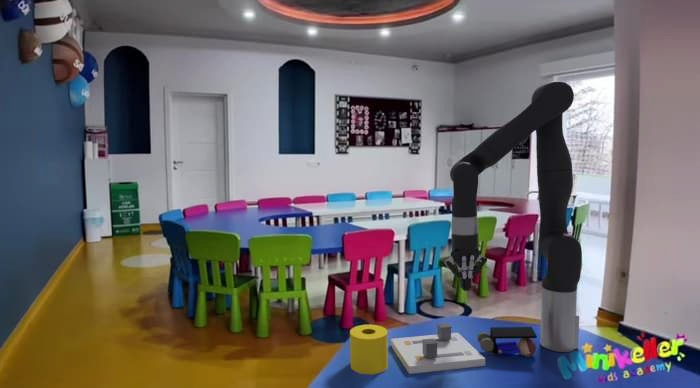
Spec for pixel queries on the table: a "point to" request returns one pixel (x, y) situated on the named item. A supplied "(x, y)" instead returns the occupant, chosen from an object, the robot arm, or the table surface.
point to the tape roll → (369, 349)
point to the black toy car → (522, 347)
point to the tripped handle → (444, 331)
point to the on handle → (429, 348)
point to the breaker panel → (448, 354)
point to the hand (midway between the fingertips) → (465, 290)
